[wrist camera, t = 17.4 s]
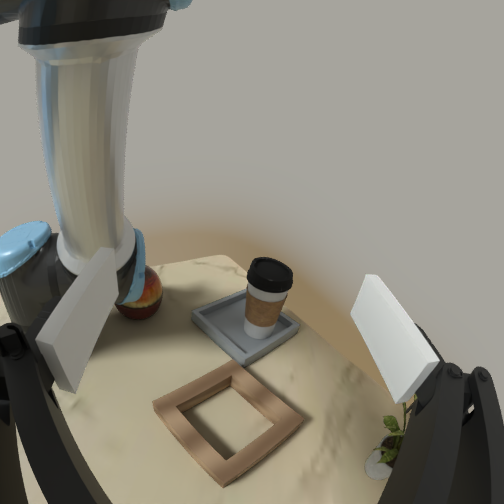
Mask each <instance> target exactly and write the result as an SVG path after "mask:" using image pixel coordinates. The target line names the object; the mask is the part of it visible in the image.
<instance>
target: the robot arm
mask: <svg viewBox="0 0 504 504" xmlns="http://www.w3.org/2000/svg"><path fill="white" fill-rule="evenodd" d="M191 2H192V0H0V24H4V23H8V22H11V21H15V20H19V37H18V38H19V39H18V46H19V47H20V48H21V49H23V50H24V51H26V52H27V53H29V54H30V55H32V56H33V57H34V58H35V60H36V95H37V110H38V120H39V129H40V137H41V144H42V150H43V156H44V162H45V167H46V172H47V177H48V182H49V187H50V190H51V195H52V199H53V203H54V207H55V211H56V214H57V218H58V221H59V225H60V228H61V230H60V232H59V233H52V231H51V228H50V226H49V224H48V223H47V222H42V221H33V222H28V223H25V224H22V225H19V226H17V227H15V228H13V229H11V230H9V231H8V232H6V233H5V234H3V235H2V236H1V237H0V293H1V296H2V299H3V302H4V304H5V307H6V309H7V312H8V314H9V317H10V319H11V322H12V323H6V324H4V325H2V326H0V504H28V500H27V496H26V492H25V488H24V483H23V478H22V473H21V467H20V461H19V454H18V446H17V437H16V426H17V429H18V432H19V436H20V439H21V442H22V445H23V447H24V450H25V453H26V456H27V458H28V461H29V463H30V466H31V468H32V471H33V473H34V475H35V478H36V480H37V482H38V484H39V486H40V488H41V491H42V493H43V495H44V497H45V499H46V500H47V502H48V504H112V502H111V501H110V500H109V498H108V497H107V495H106V494H105V492H104V491H103V489H102V488H101V486H100V485H99V483H98V481H97V480H96V478H95V476H94V475H93V473H92V471H91V470H90V468H89V466H88V465H87V463H86V461H85V459H84V457H83V456H82V454H81V452H80V450H79V448H78V446H77V444H76V442H75V440H74V438H73V436H72V434H71V432H70V430H69V427H68V425H67V423H66V421H65V418H64V416H63V414H62V411H61V409H60V406H59V404H58V401H57V399H56V396H55V394H54V391H53V389H52V388H51V387H52V385H53V383H54V380H55V382H56V384H57V385H58V387H59V389H62V390H65V391H68V392H71V393H75V394H76V391H77V388H78V386H79V383H80V380H81V378H82V375H83V373H84V370H85V368H86V365H87V363H88V360H89V358H90V356H91V353H92V351H93V348H94V346H95V344H96V342H97V339H98V337H99V335H100V333H101V330H102V328H103V326H104V324H105V322H106V320H107V317H108V315H109V313H110V311H111V309H112V307H113V305H114V304H118V305H121V304H124V303H127V302H134V301H137V300H138V299H139V298H140V297H141V295H142V293H143V289H144V282H145V274H144V272H145V244H144V237H143V234H142V232H141V231H140V230H138V229H134V228H133V226H132V224H131V223H130V221H129V220H128V219H127V218H126V217H125V216H124V165H125V164H124V163H125V145H126V133H127V120H128V112H129V103H130V95H131V88H132V81H133V75H134V69H135V63H136V58H137V52H138V48H139V46H140V45H141V44H142V43H143V42H144V41H146V40H147V39H149V38H150V37H152V36H153V35H155V34H156V33H158V32H159V31H161V30H162V27H163V23H164V20H165V17H166V13H167V11H168V9H171V10H174V11H177V10H179V9H185V8H187V7H188V6H189V5H190V3H191ZM350 315H351V316H352V318H353V320H354V322H355V324H356V326H357V328H358V329H359V331H360V333H361V335H362V337H363V339H364V341H365V343H366V345H367V347H368V349H369V351H370V353H371V355H372V357H373V359H374V360H375V363H376V365H377V366H378V369H379V371H380V373H381V375H382V377H383V379H384V381H385V383H386V385H387V387H388V389H389V391H390V394H391V396H392V398H393V400H394V402H395V404H398V403H402V402H407V401H408V400H409V399H410V398H411V397H412V396H413V394H414V393H415V394H416V396H417V399H416V400H415V401H414V402H413V403H412V404H411V406H410V407H409V408H408V409H407V410H406V412H405V413H408V412H409V411H410V410H411V409H412V411H411V413H410V418H409V422H408V425H407V429H406V432H405V435H404V438H403V441H402V444H401V447H400V450H399V453H398V456H397V459H396V461H395V464H394V467H393V469H392V472H391V474H390V477H389V479H388V482H387V484H386V486H385V489H384V491H383V493H382V495H381V497H380V500H379V502H378V504H504V424H503V419H502V415H501V410H500V406H499V402H498V399H497V394H496V391H495V387H494V384H493V380H492V377H491V375H490V373H489V372H488V371H487V370H486V369H485V368H483V367H476V368H475V369H474V370H473V371H472V373H471V374H467V373H463V372H462V370H461V369H460V368H459V367H458V366H457V365H455V364H453V363H445V362H444V360H443V358H442V357H441V355H440V354H439V352H438V351H437V349H436V348H435V346H434V345H433V344H432V343H431V341H430V339H429V338H428V337H427V335H426V334H425V332H424V331H423V330H422V329H421V328H420V327H419V326H418V325H417V324H415V323H413V321H412V320H411V318H410V317H409V316H408V314H407V313H406V312H405V310H404V309H403V307H402V306H401V305H400V303H399V302H398V301H397V300H396V298H395V297H394V296H393V294H392V293H391V292H390V290H389V289H388V288H387V287H386V285H385V284H384V283H383V282H382V280H381V279H380V278H379V276H378V275H369V274H367V275H366V276H365V279H364V282H363V284H362V287H361V289H360V291H359V294H358V296H357V299H356V301H355V303H354V306H353V308H352V310H351V313H350ZM473 404H474V410H473V411H472V412H471V413H468V409H469V408H470V407H471V406H472V405H473ZM15 422H16V424H15Z"/></svg>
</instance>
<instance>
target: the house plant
mask: <svg viewBox="0 0 504 504" xmlns="http://www.w3.org/2000/svg"><path fill="white" fill-rule="evenodd" d="M416 399H417V396H416V394H415V395H414V401H415V400H416ZM402 403H403V407H404V429H403V431H401V430H400V428H399V426H398V423H397V420H396V418H395V417H394V416H384V424H385V425H386V427H384V428H388V429H389V430H390V431H391V432H392V433H390V434H388V435H386V436H385V437H384V438H383V439H382V440H381V442H380V443H379V445H378V446H377V447H376V449H374V451H373V453H372V454H371V455H370V456H369V458H368V459H367V461H366V463H365V471H366V473H367V475H368V476H369V477H370V478H372V479H375V480H382V479H385V478H388V477H390V474H391V472H392V469H393V467H394V464H395V461H396V459H397V456H398V453H399V450H400V447H401V444H402V441H403V438H404V435H405V434H404V431H405V425H406V413H405V412H406V403H405V402H402Z"/></svg>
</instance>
